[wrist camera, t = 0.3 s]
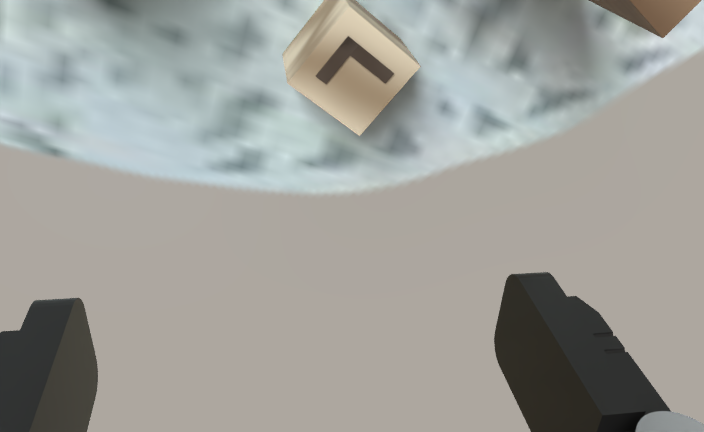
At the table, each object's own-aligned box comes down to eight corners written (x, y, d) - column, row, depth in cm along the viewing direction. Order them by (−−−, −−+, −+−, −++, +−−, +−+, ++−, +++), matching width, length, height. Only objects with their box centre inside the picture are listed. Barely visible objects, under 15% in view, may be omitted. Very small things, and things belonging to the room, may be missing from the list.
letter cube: (336, -16, 35) (349, 6, 31) (400, 38, 38) (421, 66, 33) (282, 53, 37) (287, 83, 33) (346, 102, 39) (359, 136, 35)
